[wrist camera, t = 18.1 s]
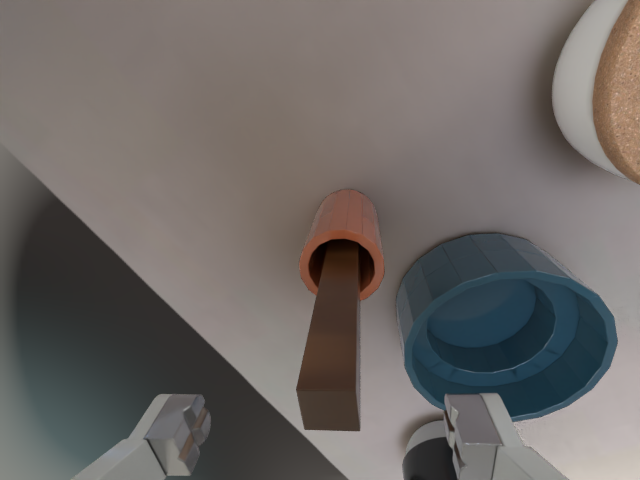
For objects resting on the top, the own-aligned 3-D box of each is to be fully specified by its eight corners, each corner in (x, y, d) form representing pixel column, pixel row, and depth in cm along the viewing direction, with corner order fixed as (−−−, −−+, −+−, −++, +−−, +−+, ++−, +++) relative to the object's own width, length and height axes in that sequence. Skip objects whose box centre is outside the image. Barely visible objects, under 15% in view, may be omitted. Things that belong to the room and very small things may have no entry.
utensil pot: (320, 247, 29) (305, 305, 21) (313, 191, 27) (293, 232, 19) (378, 243, 28) (385, 303, 20) (375, 186, 26) (382, 226, 18)
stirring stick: (337, 233, 28) (304, 430, 11) (334, 212, 27) (295, 389, 10) (360, 232, 27) (360, 431, 11) (358, 210, 26) (356, 390, 10)
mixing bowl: (396, 359, 33) (405, 420, 27) (393, 235, 28) (402, 276, 21) (544, 358, 31) (592, 425, 25) (572, 223, 26) (643, 265, 19)
